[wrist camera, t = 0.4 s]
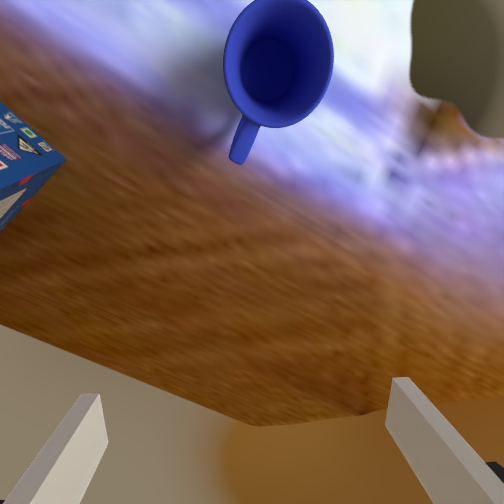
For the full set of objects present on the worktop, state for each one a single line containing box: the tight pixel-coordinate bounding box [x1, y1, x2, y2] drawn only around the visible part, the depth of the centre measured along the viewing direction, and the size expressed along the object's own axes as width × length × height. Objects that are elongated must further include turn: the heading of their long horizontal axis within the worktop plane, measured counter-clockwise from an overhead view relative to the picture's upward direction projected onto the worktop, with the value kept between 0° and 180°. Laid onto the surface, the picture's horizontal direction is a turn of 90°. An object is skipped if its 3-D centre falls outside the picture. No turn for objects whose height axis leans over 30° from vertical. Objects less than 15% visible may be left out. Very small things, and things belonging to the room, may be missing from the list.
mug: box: [223, 0, 334, 165], centre depth 25 cm, size 8×12×10 cm
